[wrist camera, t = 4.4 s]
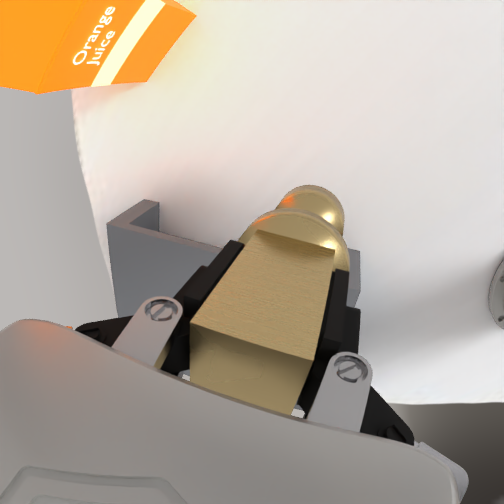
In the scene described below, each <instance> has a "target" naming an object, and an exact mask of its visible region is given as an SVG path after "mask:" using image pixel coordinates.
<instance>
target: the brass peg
mask: <svg viewBox="0 0 504 504" xmlns="http://www.w3.org/2000/svg"><path fill="white" fill-rule="evenodd" d="M343 229H344V211H343V208H342V205H341V203H340V202H339V200H338V199H337V198H336V196H335V195H334V194H332V193H331V192H330V191H328V190H327V189H325V188H322V187H319V186H315V185H303V186H299V187H296V188H294V189H292V190H291V191H289V192H288V193H287V194H286V195H285V196H284V198H283V199H282V200H281V202H280V203H279V205H278V206H277V207H276V209H275V210H273V211H270V212H267V213H265V214H263V215H261V216H260V217H258V218H257V219H256V220H255V221H254V222H253V223H252V224H251V225H250V226H249V227H248V228H247V229H246V231H245V232H244V233H243V234H242V236H241V237H240V238H239V240H238V242H241V243H244V244H245V247H244V248H243V250H242V251H241V253H240V254H239V255H238V257H237V258H236V259H235V261H234V262H233V263H232V265H231V266H230V268H229V269H228V270H227V272H226V273H225V274H224V276H223V277H222V279H221V280H220V281H219V283H218V284H217V285H216V287H215V288H214V290H213V291H212V292H211V294H210V295H209V296H208V298H207V299H206V301H205V302H204V303H203V305H202V306H201V307H200V309H199V310H198V312H197V313H196V314H195V316H194V317H193V318H192V320H191V321H190V382H192V383H195V384H198V385H200V386H203V387H206V388H208V389H211V390H214V391H216V392H219V393H222V394H225V395H228V396H231V397H234V398H237V399H240V400H243V401H246V402H249V403H252V404H255V405H258V406H261V407H264V408H268V409H271V410H274V411H278V412H281V413H284V414H288V415H291V413H292V411H293V409H294V406H295V404H296V402H297V399H298V397H299V395H300V392H301V390H302V388H303V385H304V383H305V380H306V378H307V375H308V373H309V370H310V368H311V366H312V363H313V360H314V356H315V352H316V347H317V343H318V338H319V334H320V329H321V325H322V320H323V315H324V310H325V305H326V300H327V295H328V290H329V285H330V279H331V274H332V271H334V272H335V269H336V268H337V269H341V270H344V271H348V272H349V268H350V257H349V252H348V248H347V245H346V243H345V241H344V239H343V237H342V236H343Z"/></svg>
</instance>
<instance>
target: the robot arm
mask: <svg viewBox="0 0 504 504" xmlns="http://www.w3.org/2000/svg"><path fill="white" fill-rule="evenodd" d="M244 247H245V244H244V243H241V242H237V241H233V240H230V241H229V242H228V243H227V244H226V246H225V247H224V248H223V249H222V250H221V251H220V253H219V254H218V255H217V256H216V257H215V259H214V260H213V261H212V262H211V263H210V264H209V266H204V265H201V266H200V267H199V268H198V269H197V271H196V272H195V273H194V274H193V275H192V276H191V277H190V279H189V280H188V281H187V282H186V283H185V284H184V285H183V287H182V288H181V289H180V290H179V291H178V292H177V294H176V295H175V296H174V297H173V298H170V297H165V296H157V297H153V298H150V299H148V300H146V301H145V302H144V303H143V304H142V305H141V306H140V308H139V309H138V310H137V312H136V313H135V315H132V316H126V317H120V318H115V319H109V320H103V321H97V322H91V323H86V324H83V325H81V326H79V327H77V328H76V329H75V330H73V328H72V327H68V326H63V325H60V324H56V323H53V322H49V321H45V320H37V319H23V320H19V321H16V322H14V323H12V324H10V325H9V326H7V327H5V328H4V329H3V330H1V331H0V504H460V502H461V500H462V498H463V496H464V493H465V491H466V489H467V486H468V476H467V474H466V472H465V470H464V469H462V468H461V467H460V466H459V465H457V464H456V463H454V462H452V461H451V460H449V459H448V458H446V457H445V456H443V455H442V454H440V453H438V452H437V451H435V450H434V449H432V448H431V447H429V446H428V445H426V444H424V443H423V442H421V443H420V444H418V443H417V442H415V441H414V436H413V433H412V431H411V430H410V428H409V427H408V426H407V425H406V423H405V422H404V421H403V420H402V419H401V418H400V417H399V416H398V415H397V414H396V413H395V411H393V409H392V408H391V407H390V406H389V405H388V404H387V403H386V402H385V400H384V399H383V398H382V397H381V396H380V395H379V394H378V393H377V392H376V391H375V390H374V388H373V387H372V386H371V380H372V368H371V365H370V364H369V363H368V361H367V360H366V359H364V358H363V357H362V356H360V355H358V345H359V331H360V314H361V311H360V309H357V308H353V307H349V306H346V304H347V295H348V285H349V274H350V272H348V271H344V270H341V269H337V268H336V269H335V272H334V271H332V274H331V279H330V285H329V290H328V295H327V300H326V305H325V310H324V315H323V320H322V325H321V329H320V334H319V338H318V343H317V347H316V352H315V356H314V360H313V363H312V366H311V368H310V370H309V373H308V375H307V378H306V380H305V383H304V385H303V388H302V390H301V392H300V395H299V397H298V401H297V404H296V405H299V406H300V407H301V408H302V410H303V411H304V412H305V414H304V416H303V419H302V418H299V417H295V416H292V415H288V414H284V413H281V412H278V411H274V410H271V409H268V408H264V407H261V406H258V405H255V404H252V403H249V402H246V401H243V400H240V399H237V398H234V397H231V396H228V395H225V394H222V393H219V392H216V391H214V390H211V389H208V388H206V387H203V386H200V385H198V384H195V383H192V382H190V381H187V380H185V379H182V376H183V372H184V371H185V370H190V321H191V320H192V318H193V317H194V316H195V314H196V313H197V312H198V310H199V309H200V307H201V306H202V305H203V303H204V302H205V301H206V299H207V298H208V296H209V295H210V294H211V292H212V291H213V290H214V288H215V287H216V285H217V284H218V283H219V281H220V280H221V279H222V277H223V276H224V274H225V273H226V272H227V270H228V269H229V268H230V266H231V265H232V263H233V262H234V261H235V259H236V258H237V257H238V255H239V254H240V253H241V251H242V250H243V248H244ZM489 306H490V311H491V313H492V316H493V318H494V320H495V322H496V323H497V324H498V325H499V326H500V327H501V328H502V329H504V260H503V262H502V263H501V264H500V266H499V268H498V270H497V271H496V273H495V275H494V278H493V281H492V283H491V287H490V292H489Z"/></svg>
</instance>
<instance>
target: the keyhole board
mask: <svg viewBox="0 0 504 504" xmlns="http://www.w3.org/2000/svg"><path fill="white" fill-rule="evenodd" d="M107 234H108V245H109V254H110V263H111V271H112V279H113V286H114V293H115V300H116V306H117V312H118V318H120V317H126V316H132V315H135V313H136V312H137V310H138V309H139V308H140V306H141V305H142V304H143V303H144V302H145V301H146V300H148V299H150V298H153V297H157V296H165V297H170V298H173V297H174V296H175V295H176V294H177V292H178V291H179V290H180V289H181V288H182V287H183V285H184V284H185V283H186V282H187V281H188V280H189V279H190V277H191V276H192V275H193V274H194V273H195V272H196V271H197V269H198V268H199V267H200V266H201V265H204V266H209V264H210V263H211V262H212V261H213V260H214V259H215V257H216V256H217V255H218V254H219V253H220V251H221V250H222V248H218V247H215V246H211V245H207V244H203V243H199V242H196V241H192V240H188V239H184V238H180V237H176V236H173V235H169V234H165V233H161V232H159V203H158V202H153V201H149V200H143V201H141V202H139V203H138V204H136V205H135V206H133V207H131V208H130V209H128V210H127V211H125V212H124V213H122V214H120V215H119V216H117V217H116V218H114V219H113V220H111V221H110V222H108V223H107ZM348 252H349V257H350V268H349V272H350V274H349V285H348V295H347V304H346V306H349V307H353V308H354V306H355V304H356V301H357V299H358V296H359V294H360V251H356V250H353V249H349V248H348ZM183 374H185V375H188V376H190V370H185V371H184V372H183ZM297 401H298V399H297ZM296 404H297V402H296ZM296 404H295V406H294V408H295V409H299V410H302V408H301V407H300V406H299V405H296Z"/></svg>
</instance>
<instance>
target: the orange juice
mask: <svg viewBox="0 0 504 504" xmlns="http://www.w3.org/2000/svg"><path fill="white" fill-rule="evenodd" d="M195 17H196V15H195V14H193V13H192V12H191V11H189V10H188V9H186V8H185V7H183V6H182V5H180V4H179V3H177V2H176V1H174V0H0V87H7V88H12V89H18V90H23V91H29V92H34V93H35V94H41V93H47V92H52V91H59V90H66V89H73V88H80V87H89V86H90V87H94V86H104V85H110V84H120V83H134V82H147V80H148V79H149V77H150V76H151V74H152V73H153V72H154V70H155V69H156V67H157V66H158V65H159V63H160V62H161V60H162V59H163V58H164V56H165V55H166V54H167V52H168V51H169V50H170V48H171V47H172V46H173V44H174V43H175V42H176V40H177V39H178V38H179V37H180V35H181V34H182V33H183V32H184V30H185V29H186V28H187V27H188V25H189V24H190V23H191V22H192V20H193V19H194V18H195Z"/></svg>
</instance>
